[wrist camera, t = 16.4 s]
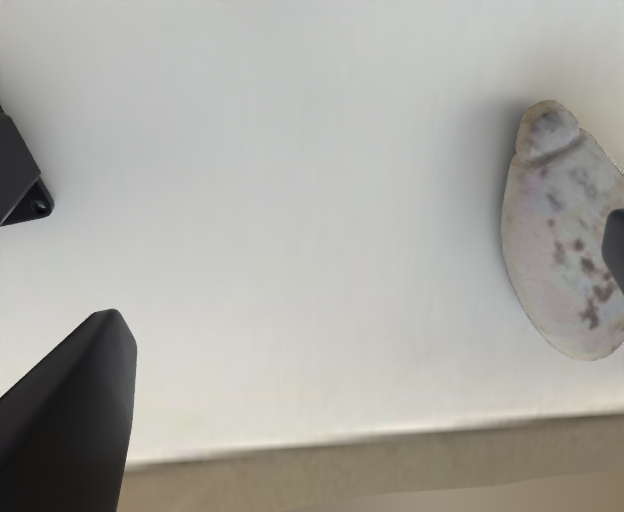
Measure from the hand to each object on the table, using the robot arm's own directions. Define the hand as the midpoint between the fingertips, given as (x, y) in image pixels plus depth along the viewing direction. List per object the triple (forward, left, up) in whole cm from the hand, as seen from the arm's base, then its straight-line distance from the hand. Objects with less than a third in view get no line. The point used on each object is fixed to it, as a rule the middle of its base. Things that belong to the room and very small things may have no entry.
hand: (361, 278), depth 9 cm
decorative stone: (+11, -10, -13) cm, 20 cm away
